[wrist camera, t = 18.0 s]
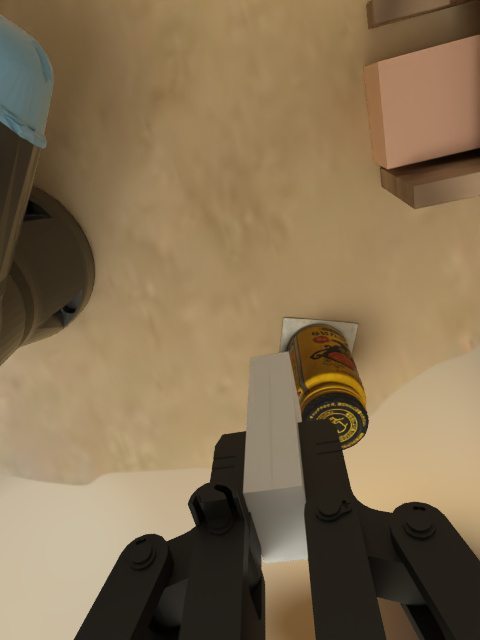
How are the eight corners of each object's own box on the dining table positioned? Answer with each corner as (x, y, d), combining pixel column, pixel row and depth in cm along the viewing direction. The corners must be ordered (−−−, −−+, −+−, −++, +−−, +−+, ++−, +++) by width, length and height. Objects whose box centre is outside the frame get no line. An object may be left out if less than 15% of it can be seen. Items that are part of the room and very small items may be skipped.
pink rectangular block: (372, 161, 37) (387, 169, 32) (362, 67, 34) (377, 61, 29) (539, 121, 35) (580, 124, 30) (544, 18, 32) (590, 4, 27)
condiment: (358, 322, 43) (389, 395, 32) (342, 393, 47) (367, 480, 36) (283, 316, 43) (290, 386, 32) (274, 388, 47) (277, 472, 36)
